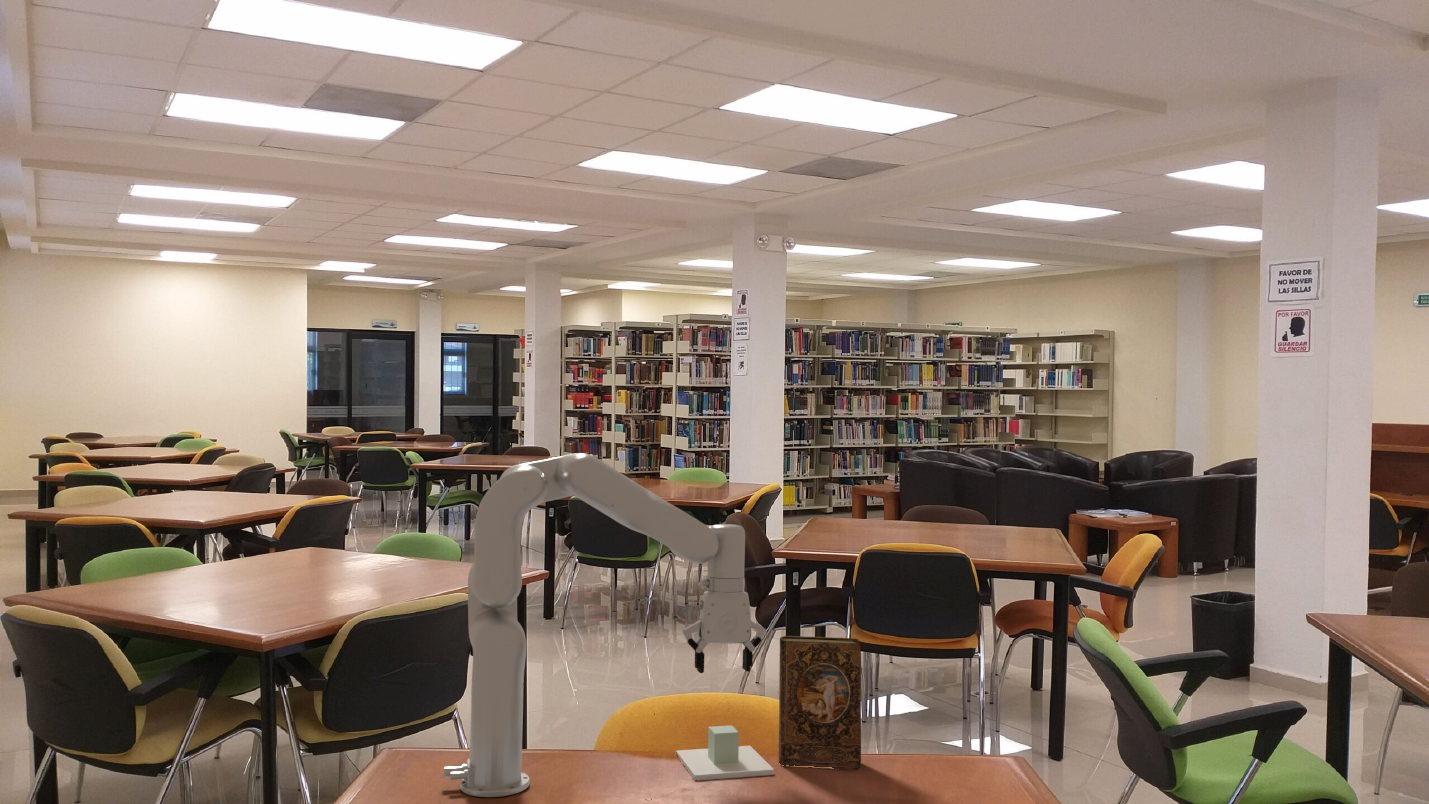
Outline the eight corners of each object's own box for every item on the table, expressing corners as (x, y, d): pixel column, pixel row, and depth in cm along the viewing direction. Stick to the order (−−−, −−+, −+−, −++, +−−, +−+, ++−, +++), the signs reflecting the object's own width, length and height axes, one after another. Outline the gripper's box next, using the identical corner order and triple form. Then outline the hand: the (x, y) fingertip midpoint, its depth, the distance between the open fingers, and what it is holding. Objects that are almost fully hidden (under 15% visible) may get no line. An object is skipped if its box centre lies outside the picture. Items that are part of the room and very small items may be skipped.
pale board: (694, 780, 185) (694, 775, 185) (675, 755, 200) (676, 750, 200) (774, 774, 189) (774, 769, 189) (749, 750, 204) (749, 745, 204)
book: (778, 766, 194) (779, 640, 195) (779, 758, 199) (780, 635, 201) (861, 770, 192) (861, 643, 194) (859, 762, 198) (860, 638, 199)
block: (714, 764, 192) (714, 733, 192) (708, 756, 196) (708, 726, 197) (738, 762, 193) (738, 732, 193) (731, 755, 198) (732, 725, 198)
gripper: (688, 588, 191) (686, 676, 190) (771, 587, 195) (769, 673, 194) (679, 583, 198) (677, 668, 197) (760, 582, 202) (758, 665, 201)
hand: (723, 670), depth 196 cm, fingers open, 9 cm apart
